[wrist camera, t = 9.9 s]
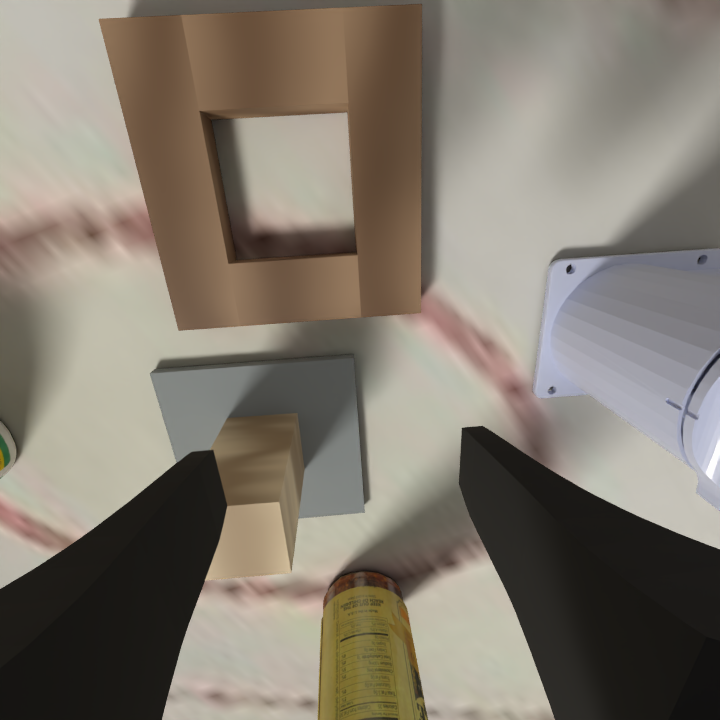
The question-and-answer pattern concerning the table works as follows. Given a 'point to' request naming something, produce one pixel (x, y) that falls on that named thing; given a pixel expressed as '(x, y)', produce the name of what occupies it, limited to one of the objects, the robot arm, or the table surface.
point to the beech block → (258, 495)
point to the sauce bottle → (367, 653)
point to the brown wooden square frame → (265, 99)
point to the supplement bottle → (6, 450)
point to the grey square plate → (270, 397)
